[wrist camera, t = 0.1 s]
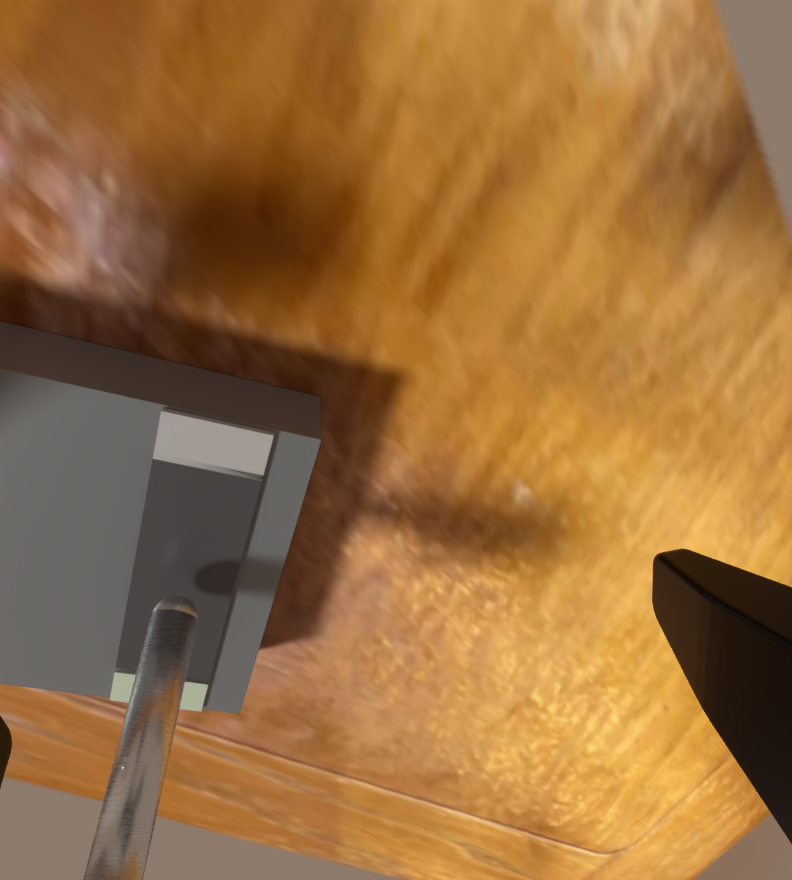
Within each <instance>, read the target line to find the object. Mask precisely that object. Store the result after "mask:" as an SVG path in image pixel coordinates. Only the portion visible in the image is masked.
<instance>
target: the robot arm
mask: <svg viewBox="0 0 792 880" xmlns="http://www.w3.org/2000/svg"><path fill="white" fill-rule="evenodd" d="M652 602H653V608H654V612H655V615H656V618H657V620H658V622H659V624H660V626H661V628H662V630H663V632H664V634H665V636H666V638H667V640H668V642H669V644H670V646H671V648H672V650H673V652H674V654H675V656H676V658H677V660H678V662H679V664H680V666H681V668H682V670H683V672H684V674H685V676H686V678H687V680H688V682H689V684H690V686H691V688H692V690H693V692H694V694H695V696H696V697H697V699H698V701H699V703H700V705H701V707H702V709H703V710H704V712H705V714H706V715H707V717H708V718H709V720H710V722H711V723H712V725H713V726H714V728H715V729H716V731H717V732H718V734H719V735H720V737H721V738H722V740H723V741H724V743H725V744H726V746H727V747H728V749H729V750H730V752H731V753H732V755H733V756H734V758H735V759H736V761H737V762H738V764H739V765H740V767H741V768H742V770H743V771H744V773H745V774H746V776H747V777H748V779H749V780H750V782H751V783H752V785H753V786H754V788H755V789H756V791H757V792H758V794H759V795H760V797H761V798H762V800H763V801H764V803H765V804H766V806H767V807H768V809H769V810H770V812H771V813H772V815H773V816H774V818H775V819H776V821H777V822H778V824H779V826H780V827H781V829H782V830H783V832H784V833H785V835H786V836H787V838H788V839H789V840H790V842H791V844H792V587H790V586H787V585H784V584H781V583H779V582H776V581H773V580H770V579H768V578H765V577H762V576H759V575H757V574H754V573H751V572H748V571H746V570H743V569H740V568H737V567H734V566H732V565H729V564H726V563H723V562H721V561H718V560H715V559H712V558H710V557H707V556H704V555H701V554H699V553H696V552H693V551H690V550H687V549H677V550H672V551H667V552H663V553H659V554H657V555H656V556H655V558H654V561H653V590H652ZM11 748H12V738H11V734H10V730H9V728H8V726H7V725H6V723H5V722H4V720H3V719H2V717H1V716H0V787H1V784H2V781H3V777H4V774H5V770H6V767H7V764H8V760H9V757H10V753H11Z"/></svg>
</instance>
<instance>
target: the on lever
mask: <svg viewBox="0 0 792 880" xmlns="http://www.w3.org/2000/svg"><path fill="white" fill-rule="evenodd" d="M197 623H198V611H197V608H196V606H195V605H194V603H193V602H192V601H191V600H189V599H188V598H186V597H183V596H179V595H174V596H169V597H166V598H164V599H162V600H161V601H160V602H159V603H158V604H157V605H156V606H155V607H154V609H153V611H152V614H151V618H150V621H149V625H148V629H147V633H146V637H145V641H144V645H143V649H142V653H141V656H140V660H139V664H138V668H137V672H136V676H135V680H134V684H133V688H132V691H131V695H130V699H129V703H128V707H127V711H126V715H125V719H124V723H123V726H122V730H121V734H120V738H119V742H118V746H117V750H116V754H115V758H114V762H113V765H112V769H111V773H110V777H109V781H108V785H107V789H106V793H105V797H104V800H103V804H102V808H101V812H100V816H99V820H98V824H97V828H96V832H95V836H94V839H93V844H92V847H91V851H90V855H89V859H88V863H87V867H86V870H85V874H84V878H83V880H143V877H144V872H145V867H146V862H147V858H148V853H149V848H150V844H151V839H152V834H153V830H154V825H155V820H156V816H157V811H158V806H159V802H160V797H161V792H162V788H163V783H164V778H165V774H166V769H167V764H168V759H169V755H170V750H171V745H172V741H173V736H174V731H175V727H176V722H177V717H178V713H179V708H180V703H181V699H182V694H183V689H184V684H185V680H186V675H187V670H188V666H189V661H190V656H191V652H192V647H193V642H194V638H195V633H196V628H197Z"/></svg>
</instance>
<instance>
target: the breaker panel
mask: <svg viewBox="0 0 792 880" xmlns="http://www.w3.org/2000/svg"><path fill="white" fill-rule="evenodd" d="M320 443H321V402H320V396H315V395H311V394H307V393H303V392H298V391H294V390H290V389H286V388H281V387H277V386H273V385H269V384H265V383H260V382H256V381H252V380H248V379H243V378H239V377H235V376H231V375H226V374H222V373H218V372H214V371H209V370H205V369H201V368H197V367H193V366H188V365H184V364H180V363H176V362H171V361H167V360H163V359H159V358H154V357H150V356H146V355H142V354H138V353H133V352H129V351H125V350H121V349H116V348H112V347H108V346H104V345H99V344H95V343H91V342H87V341H83V340H78V339H74V338H70V337H66V336H61V335H57V334H53V333H49V332H44V331H40V330H36V329H32V328H28V327H23V326H19V325H15V324H11V323H6V322H2V321H0V684H6V685H14V686H22V687H30V688H38V689H46V690H54V691H62V692H70V693H78V694H86V695H94V696H102V697H110V700H112V701H120V702H128V703H129V699H130V695H131V691H132V688H133V684H134V680H135V676H136V672H137V668H138V664H139V660H140V656H141V653H142V649H143V645H144V641H145V637H146V633H147V629H148V625H149V621H150V618H151V614H152V611H153V609H154V607H155V606H156V605H157V604H158V603H159V602H160V601H161V600H162V599H164V598H166V597H169V596H174V595H179V596H183V597H186V598H188V599H189V600H191V601H192V602H193V603H194V605H195V606H196V608H197V611H198V623H197V628H196V633H195V638H194V642H193V647H192V652H191V656H190V661H189V666H188V670H187V675H186V680H185V684H184V689H183V694H182V699H181V703H180V708H179V709H184V710H192V711H200V712H201V710H202V709H205V710H213V711H221V712H229V713H237V714H240V711H241V707H242V704H243V701H244V697H245V694H246V691H247V687H248V684H249V681H250V677H251V674H252V670H253V667H254V664H255V660H256V657H257V654H258V650H259V647H260V644H261V640H262V637H263V634H264V630H265V627H266V624H267V620H268V617H269V614H270V610H271V607H272V604H273V600H274V597H275V594H276V590H277V587H278V583H279V580H280V577H281V573H282V570H283V567H284V563H285V560H286V557H287V553H288V550H289V547H290V543H291V540H292V537H293V533H294V530H295V527H296V523H297V520H298V517H299V513H300V510H301V506H302V503H303V500H304V496H305V493H306V490H307V486H308V483H309V480H310V476H311V473H312V470H313V466H314V463H315V460H316V456H317V453H318V450H319V446H320Z"/></svg>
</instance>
